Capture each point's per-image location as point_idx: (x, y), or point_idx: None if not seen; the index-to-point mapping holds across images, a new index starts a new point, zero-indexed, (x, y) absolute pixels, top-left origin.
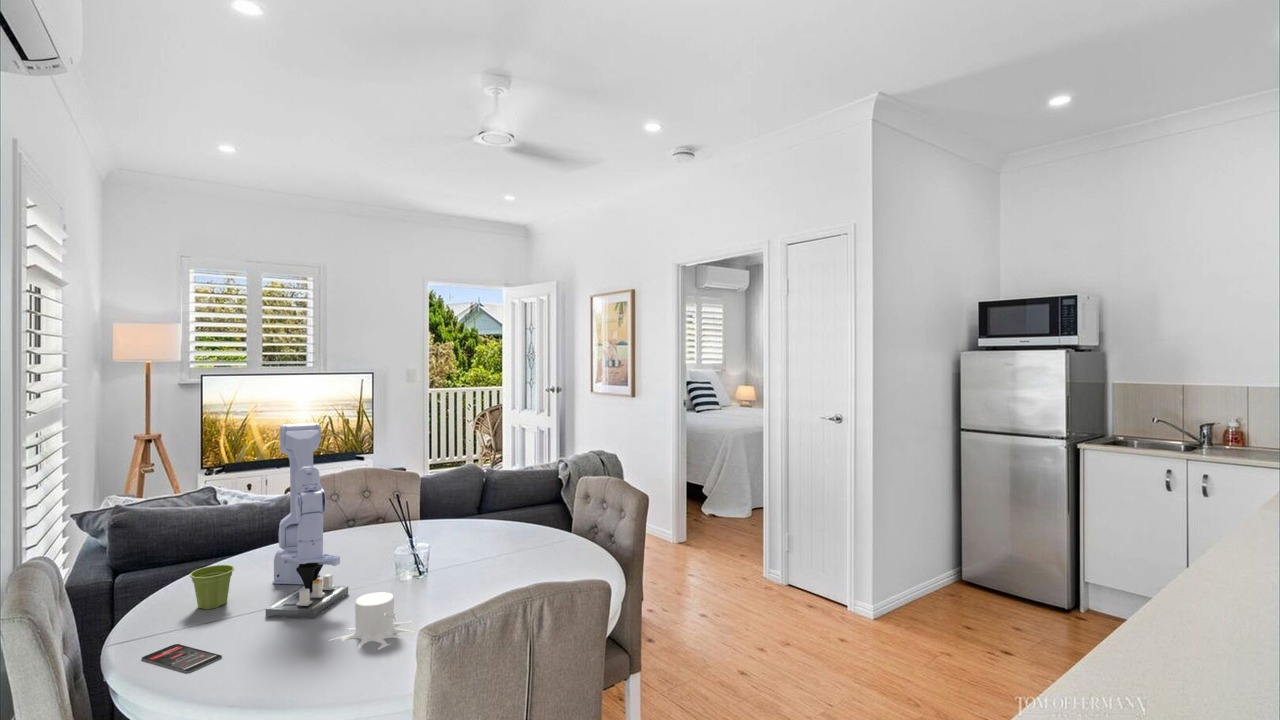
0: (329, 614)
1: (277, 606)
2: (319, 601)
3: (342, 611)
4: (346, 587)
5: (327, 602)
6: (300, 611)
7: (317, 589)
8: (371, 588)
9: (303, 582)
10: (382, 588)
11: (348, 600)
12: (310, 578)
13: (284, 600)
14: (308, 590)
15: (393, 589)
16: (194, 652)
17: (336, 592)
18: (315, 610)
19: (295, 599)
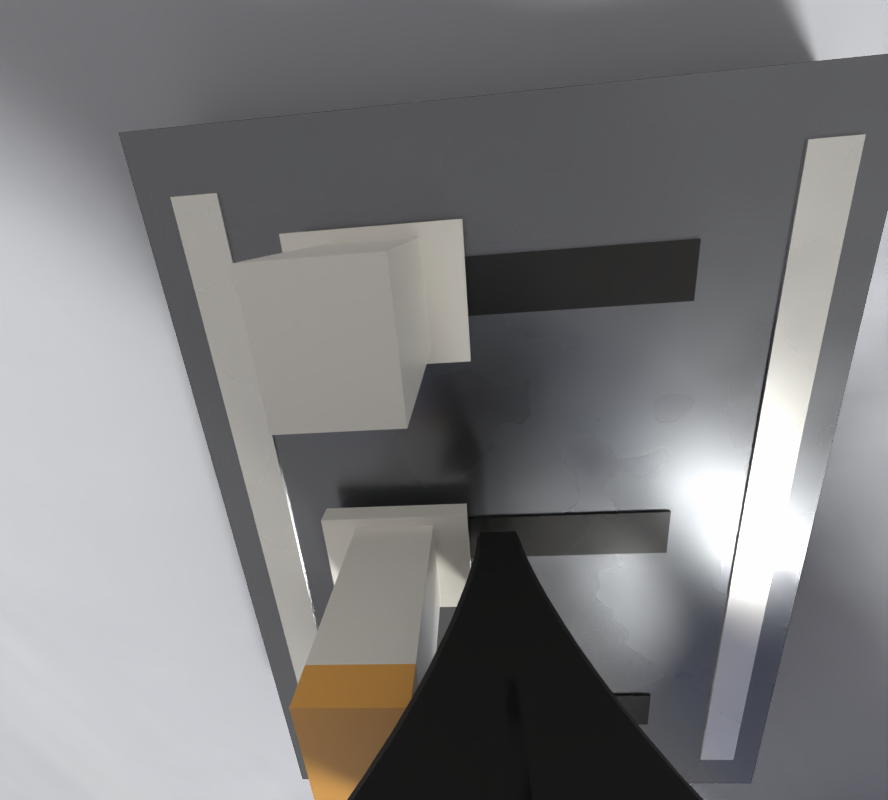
0: (127, 302)
1: (764, 191)
2: (291, 437)
3: (69, 391)
4: (299, 759)
5: (221, 454)
6: (324, 114)
7: (349, 587)
8: (231, 794)
9: (572, 651)
10: (155, 797)
11: (221, 607)
12: (388, 743)
13: (764, 404)
14: (271, 386)
15: (67, 788)
16: None
17: (295, 661)
18: (146, 186)
19: (632, 454)
